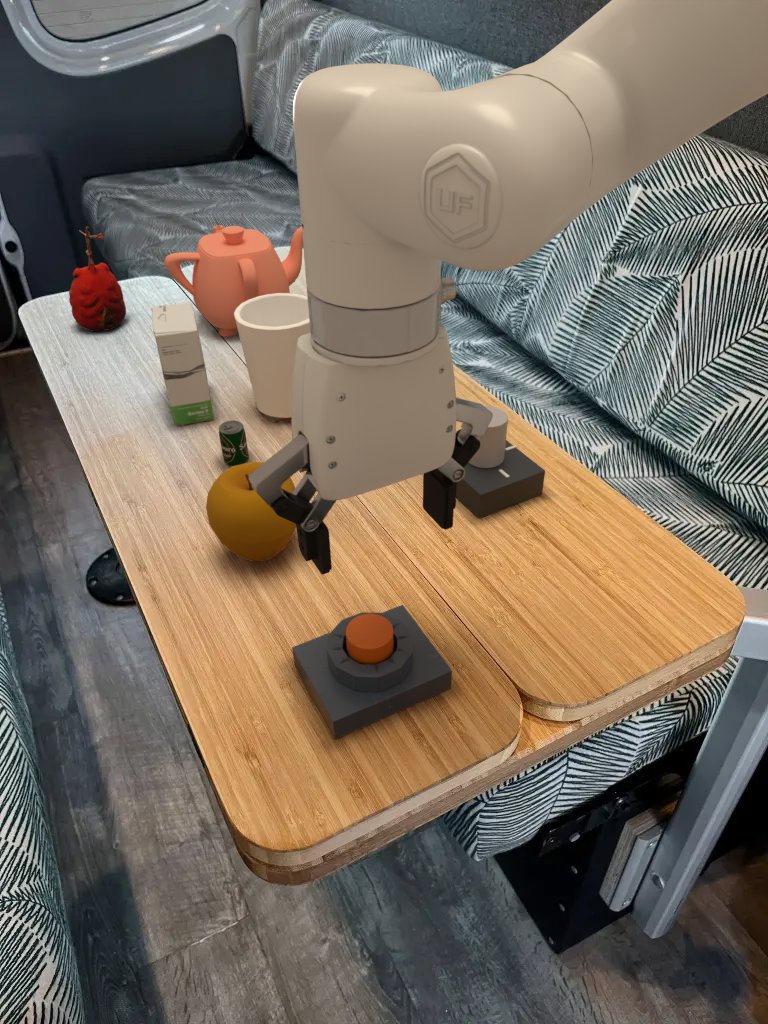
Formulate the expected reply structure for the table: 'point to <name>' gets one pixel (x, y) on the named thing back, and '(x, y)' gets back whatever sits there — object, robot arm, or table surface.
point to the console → (500, 483)
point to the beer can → (233, 443)
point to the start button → (369, 639)
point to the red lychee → (96, 294)
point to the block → (370, 674)
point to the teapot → (235, 271)
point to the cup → (272, 347)
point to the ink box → (182, 362)
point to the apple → (247, 515)
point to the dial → (492, 441)
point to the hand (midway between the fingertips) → (379, 539)
